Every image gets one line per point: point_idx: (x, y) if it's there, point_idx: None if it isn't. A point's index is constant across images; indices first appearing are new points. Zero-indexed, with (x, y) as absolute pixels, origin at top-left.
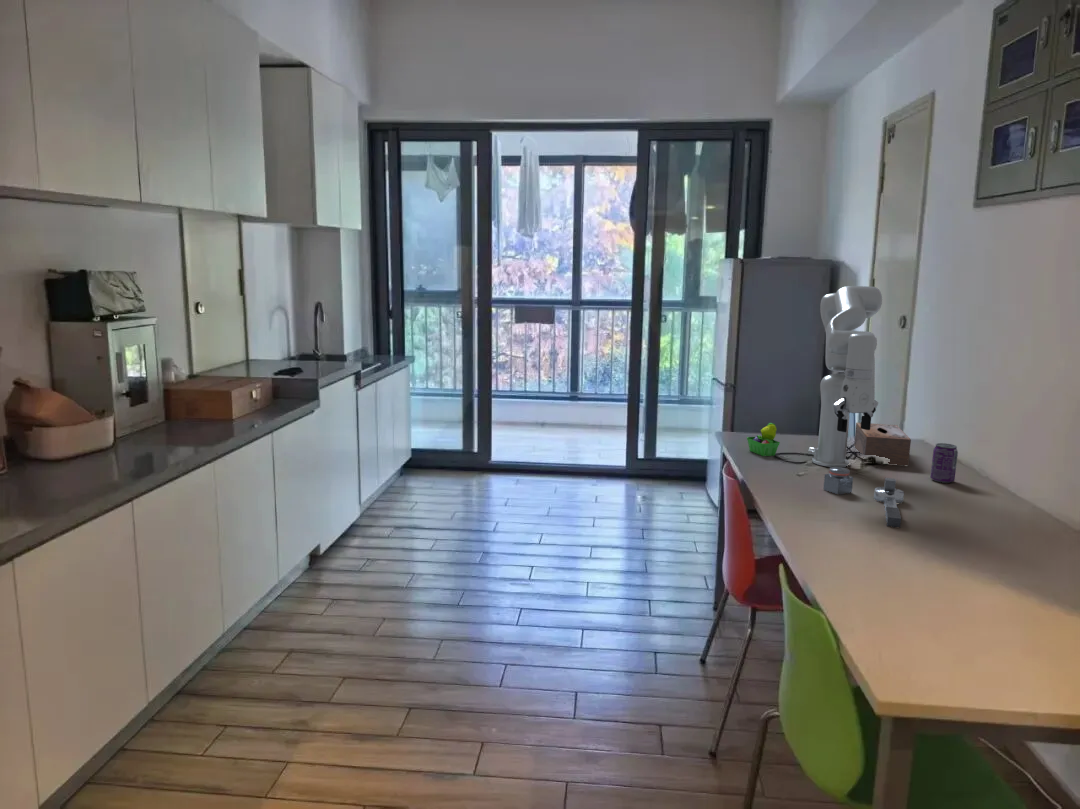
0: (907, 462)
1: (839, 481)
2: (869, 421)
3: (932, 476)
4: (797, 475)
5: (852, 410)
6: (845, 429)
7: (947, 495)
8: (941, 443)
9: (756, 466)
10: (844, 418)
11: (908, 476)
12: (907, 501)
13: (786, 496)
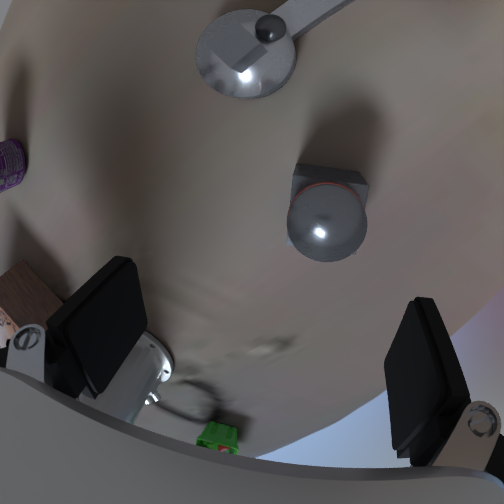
0: (18, 264)
1: (363, 182)
2: (84, 302)
3: (21, 169)
4: (289, 344)
5: (496, 499)
6: (436, 311)
7: (69, 59)
8: None
9: (311, 409)
10: (470, 414)
11: (46, 212)
12: (202, 31)
13: (485, 240)
